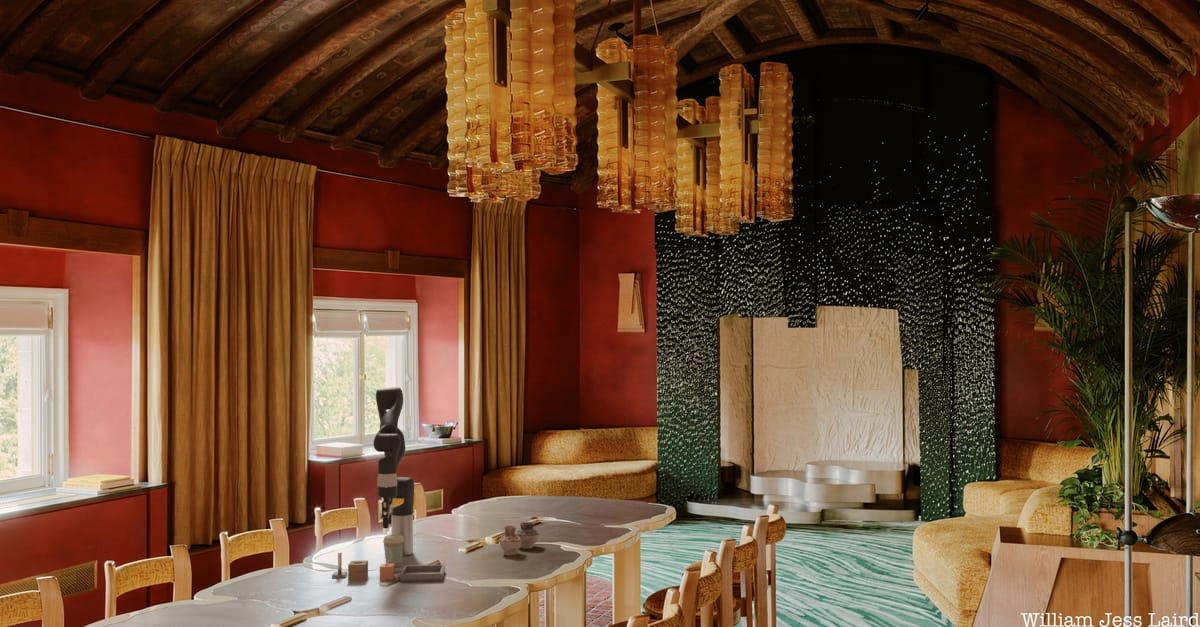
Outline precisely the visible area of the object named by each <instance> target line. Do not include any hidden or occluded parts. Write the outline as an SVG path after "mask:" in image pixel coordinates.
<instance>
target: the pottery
mask: <svg viewBox="0 0 1200 627" xmlns="http://www.w3.org/2000/svg"><path fill="white" fill-rule="evenodd" d="M534 525H535V524H534V522H531V521H525V522H520V523H519V529H517V526H516V525H505V526H504V528H503V529H504V533H505V534H503V535H502V536H501V537H500V538H499V539H498V544H499V545H500V546H499V547H500V548H501V549H502V550H503V551H504V552H503V555H505V556H515V555H517V554H518V550H519V548H521V549H525V550H526V549H527V550H528V549H532V548H534V545H535V544H536V543H537V541H538V540H539V537H540V532H539V531H538V530H537V529H535V528H534Z"/></svg>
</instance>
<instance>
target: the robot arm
mask: <svg viewBox="0 0 1200 627" xmlns="http://www.w3.org/2000/svg"><path fill="white" fill-rule="evenodd" d="M402 390H403V389H402V388H401V387H398V386H397V387H396V386H395V387H394V386H393V387H384V388H378V389H377V390H376V392H375V402H376V408H377V411H378V416H379V421H380V422H379V429H378V431H377V433H376V434H375V437H374V439H373V448H374V450H375V451H376V452H379V453H384V457H382V458H379V459H378V463H377V464H378V465H377V467H378V468H377V472H378V473H377V498H380V499H383V501H381V504H380V505H381V516H380V518H382V529H389V525H391V535H402V536H403V539H404V542H403V549H402V557H403V556H410V555H412V554H413V553H414V506H415V504H414V503H415V502H414V500H415V482H414V479H413V478H412V477H409V476H408V477H407V476H401V477H400V476H398V475H397V470H398V467H399V464H400V463H401V461H402V459H403V457H404V455H405V452H406V441H405V436H404V434H403V432H402V430H401V429H400V427H398V425H399V424H398V423H399V419H400V415H401V412H402V409H403V406H404V394H403V391H402ZM394 499H401V500H402V499H403V502H402V503H401V504H398V505H396V506H394Z"/></svg>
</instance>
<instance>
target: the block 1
mask: <svg viewBox="0 0 1200 627" xmlns="http://www.w3.org/2000/svg"><path fill="white" fill-rule="evenodd" d="M347 567H348V568H347V569H348V570H347V577H348V578H347V579H348V581H350V582H366V581H367V579H368V577H369V560H351V561H350V562H349V563H348V564H347Z"/></svg>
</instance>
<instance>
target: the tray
mask: <svg viewBox="0 0 1200 627" xmlns="http://www.w3.org/2000/svg"><path fill="white" fill-rule="evenodd" d="M445 573H446V564H420V565H419V564H418V565H414V564H413V565H404V566H403V568H402V570H401V572H400V574H399V583H422V582H423V583H424V582H426V583H429V582H430V583H431V582H443V580H444V576H445Z"/></svg>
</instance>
